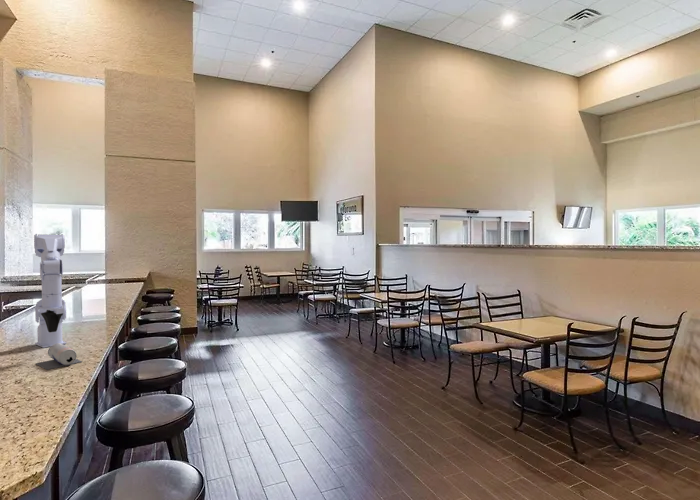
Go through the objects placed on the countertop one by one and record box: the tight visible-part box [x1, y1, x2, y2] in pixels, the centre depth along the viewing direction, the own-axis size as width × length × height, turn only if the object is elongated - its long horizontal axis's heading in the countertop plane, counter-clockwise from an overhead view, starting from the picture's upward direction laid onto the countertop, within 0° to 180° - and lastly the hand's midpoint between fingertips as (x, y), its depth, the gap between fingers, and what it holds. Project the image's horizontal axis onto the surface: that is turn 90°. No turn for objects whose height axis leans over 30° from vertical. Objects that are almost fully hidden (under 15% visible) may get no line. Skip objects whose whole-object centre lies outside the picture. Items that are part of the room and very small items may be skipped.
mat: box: [35, 358, 83, 371], centre depth 135 cm, size 10×10×1 cm
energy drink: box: [47, 343, 77, 366], centre depth 136 cm, size 5×5×12 cm
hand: (52, 331), depth 143 cm, fingers closed
